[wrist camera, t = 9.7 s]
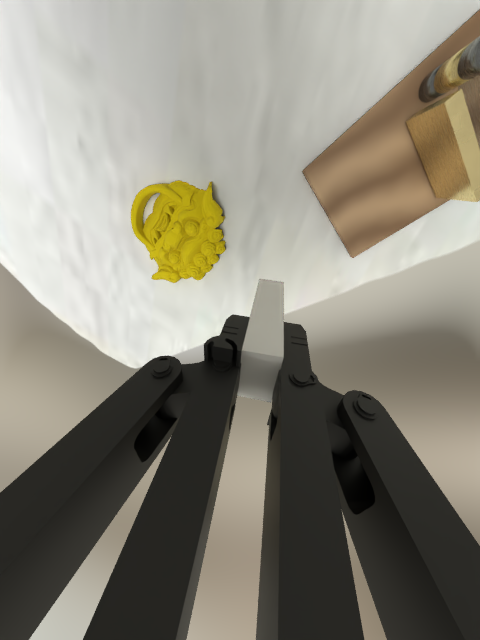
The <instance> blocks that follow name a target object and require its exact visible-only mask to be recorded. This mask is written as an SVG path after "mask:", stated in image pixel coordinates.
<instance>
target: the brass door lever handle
mask: <svg viewBox="0 0 480 640" xmlns="http://www.w3.org/2000/svg"><path fill="white" fill-rule="evenodd" d="M469 44H470V43H469ZM469 44H468V45H469ZM468 45H467V46H468ZM467 46H465V47H464V48H463V49H461V50H460V51H459V52H457V53H456V54H455V55H453V56H452V57H451V58H449V59H448V60H447V61H445V62H444V63H443V64H442V66H441V67H440V68H439V70H438V72H437V74H436V76H435V79H434V89H435V90H436V92H438V93H441V94H442V93H447V92H449V91H451V90H452V89H454V88H456V87H458V86H460V85H462V84H463V83H465V82H467V81H469V80H471V79H469V80H463V79H461V78H460V77H459V75H458V72H457V67H458V63H459V60H460V57H461V55H462V53H463V52H464V50H465V49H466V48H467ZM472 79H473V78H472ZM406 123H407V126H408V128H409V131H410V133H411V136H412V138H413V141H414V143H415V146H416V148H417V151H418V153H419V156H420V158H421V161H422V163H423V166H424V168H425V171H426V174H427V176H428V179H429V181H430V184H431V186H432V189H433V191H434V194H435V196H436V198H443V199H452V200H462V201H471V202H478V201H479V200H480V149H479V145H478V142H477V138H476V135H475V132H474V128H473V125H472V121H471V118H470V115H469V111H468V108H467V104H466V101H465V97H464V94H463V91H462V89H460V90H458V91H456V92H454V93H452V94H450V95H448V96H446V97H445V98H443V99H441V100H439V101H437V102H435V103H433V104H431V105H429V106H427V107H425V108H424V109H422V110H420V111H418V112H417V113H416V114H414V115H413V116H412V117H411V118H410V119H408V120H407V121H406Z"/></svg>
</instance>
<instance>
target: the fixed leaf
mask: <svg viewBox="0 0 480 640" xmlns="http://www.w3.org/2000/svg"><path fill="white" fill-rule="evenodd" d="M441 66H442V64H441V65H440V66H438V67H437V68H436V69H434V70H433V71H432V72H430V73H429V74H428V75H427V76H426V77H425V78H424V80H423V81H422V83H421V85H420V87H419V91H418V96H419V99H420V100H421V101H422V102H425V103H427V102H430V101H432V100H434V99H436V98H438V97H440V96H441V95H443V94H445V93H442V94H441V93H438V92H436V90H435V89H434V79H435V76H436V74H437V72H438V70H439V68H440V67H441ZM457 72H458V75H459V77H460V78H461V79H463V80H469V79H471V80H469V81H467V82H465V83H463V84H462V85H460V86H458V90H460V89H462V91H463V94H464V97H465V101H466V104H467V108H468V111H469V115H470V118H471V121H472V125H473V128H474V132H475V135H476V138H477V142H478V145H479V149H480V36H479V37H477V38H476V39H475V40H474V41H472V42H471V43H470V44H469V45H468V46H467V48H466V49H465V50H464V52H463V53H462V55H461V57H460V60H459V63H458V67H457ZM472 78H473V79H472Z"/></svg>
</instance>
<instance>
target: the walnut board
mask: <svg viewBox="0 0 480 640" xmlns="http://www.w3.org/2000/svg"><path fill="white" fill-rule="evenodd" d="M479 36H480V10H479V11H478V12H476V13H475V14H474V15H473V16H472V17H471V18H470V19H469V20H468V21H467V22H465V23H464V24H463V25H462V26H461V27H460V28H459V29H458V30H457V31H456V32H454V33H453V34H452V35H451V36H450V37H449V38H448V39H447V40H446V41H445V42H443V43H442V44H441V45H440V46H439V47H438V48H437V49H436V50H435V51H434V52H432V53H431V54H430V55H429V56H428V57H427V58H426V59H425V60H424V61H423V62H422V63H420V64H419V65H418V66H417V67H416V68H415V69H414V70H413V71H412V72H411V73H409V74H408V75H407V76H406V77H405V78H404V79H403V80H402V81H401V82H400V83H398V84H397V85H396V86H395V87H394V88H393V89H392V90H391V91H390V92H389V93H387V94H386V95H385V96H384V97H383V98H382V99H381V100H380V101H379V102H378V103H376V104H375V105H374V106H373V107H372V108H371V109H370V110H369V111H368V112H367V113H366V114H364V115H363V116H362V117H361V118H360V119H359V120H358V121H357V122H356V123H355V124H353V125H352V126H351V127H350V128H349V129H348V130H347V131H346V132H345V133H344V134H342V135H341V136H340V137H339V138H338V139H337V140H336V141H335V142H334V143H333V144H331V145H330V146H329V147H328V148H327V149H326V150H325V151H324V152H323V153H322V154H320V155H319V156H318V157H317V158H316V159H315V160H314V161H313V162H312V163H311V164H310V165H308V166H307V167H306V168H305V169H304V170H303V171H302V172H303V174H304V176H305V177H306V179H307V181H308V183H309V184H310V186H311V188H312V190H313V191H314V193H315V195H316V197H317V198H318V200H319V202H320V204H321V205H322V207H323V209H324V211H325V212H326V214H327V216H328V218H329V219H330V221H331V223H332V225H333V226H334V228H335V230H336V232H337V233H338V235H339V237H340V239H341V240H342V242H343V244H344V245H345V247H346V249H347V251H348V252H349V254H350V256H351V257H352V258H354V257H355V256H357V255H359V254H360V253H362V252H364V251H365V250H367V249H369V248H370V247H372V246H374V245H375V244H377V243H379V242H380V241H382V240H384V239H385V238H387V237H389V236H390V235H392V234H394V233H395V232H397V231H399V230H400V229H402V228H404V227H405V226H407V225H409V224H410V223H412V222H414V221H415V220H417V219H419V218H420V217H422V216H424V215H425V214H427V213H429V212H430V211H432V210H434V209H435V208H437V207H439V206H440V205H442V204H444V203H445V202H447V201H449V200H450V199H443V198H436V196H435V194H434V191H433V189H432V186H431V184H430V181H429V179H428V176H427V174H426V171H425V168H424V166H423V163H422V161H421V158H420V156H419V153H418V151H417V148H416V146H415V143H414V141H413V138H412V136H411V133H410V131H409V128H408V126H407V123H406V121H407V120H408V119H410V118H411V117H412V116H413V115H414V114H416V113H417V112H418V111H420V110H422V109H424V108H425V107H427V106H429V105H431V104H433V103H435V102H437V101H439V100H441V99H443V98H445V97H446V96H448V95H450V94H452V93H454V92H456V91H458V87H456V88H454V89H452V90H451V91H449V92H447V93H445V94H443V95H441V96H440V97H438V98H436V99H434V100H432V101H430V102H427V103H425V102H422V101H421V100H420V99H419V96H418V91H419V87H420V85H421V83H422V81H423V80H424V78H425V77H426V76H427V75H428V74H429V73H430V72H432V71H433V70H434V69H436V68H437V67H438V66H440V65H441V64H443V63H444V62H445V61H447V60H448V59H449V58H451V57H452V56H453V55H455V54H456V53H457V52H459V51H460V50H461V49H463V48H464V47H465V46H467V45H468V44H469V43H471V42H472V41H474V40H475V39H476V38H477V37H479Z"/></svg>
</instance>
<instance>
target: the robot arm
mask: <svg viewBox="0 0 480 640" xmlns="http://www.w3.org/2000/svg"><path fill="white" fill-rule="evenodd" d="M283 320H284V282H279V281H272V280H265V279H259V283H258V287H257V291H256V295H255V299H254V303H253V307H252V311H251V315H250V317H245V316H239V315H231V316H230V317H229V318H228V319H226V322H225V324H224V327H223V329H222V332H221V334H220V336H216V337H212V338H210V339H209V340H207V341H206V343H205V344H204V358H205V359H204V361H202V362H199V363H194V364H182V365H181V363H180V361H179V360H178V359H176V358H175V357H172V356H160V357H157V358H154V359H152V360H151V361H149V362H148V363H147V364H145V365H144V366H143V367H142V368H141V369H140V370H139V371H138V372H136V373H135V374H134V375H133V376H132V377H131V378H130V379H129V380H127V381H126V382H125V383H124V384H123V385H122V386H121V387H119V388H118V389H117V390H116V391H115V392H114V393H113V394H112V395H110V396H109V397H108V398H107V399H106V400H105V401H104V402H102V403H101V404H100V405H99V406H98V407H97V408H96V409H95V410H93V411H92V412H91V413H90V414H89V415H88V416H87V417H86V418H84V419H83V420H82V421H81V422H80V423H79V424H78V425H77V426H75V427H74V428H73V429H72V430H71V431H70V432H69V433H68V434H66V435H65V436H64V437H63V438H62V439H61V440H60V441H58V442H57V443H56V444H55V445H54V446H53V447H52V448H51V449H49V450H48V451H47V452H46V453H45V454H44V455H43V456H42V457H40V458H39V459H38V460H37V461H36V462H35V463H34V464H32V465H31V466H30V467H29V468H28V469H27V470H26V471H25V472H23V473H22V474H21V475H20V476H19V477H18V478H17V479H16V480H14V481H13V482H12V483H11V484H10V485H9V486H8V487H6V488H5V489H4V490H3V491H2V492H1V493H0V640H29V638H30V637H31V636H32V634H33V633H34V631H35V630H36V628H37V627H38V626H39V624H40V623H41V621H42V620H43V618H44V617H45V616H46V614H47V613H48V611H49V610H50V608H51V607H52V606H53V604H54V603H55V601H56V600H57V598H58V597H59V596H60V594H61V593H62V591H63V590H64V588H65V587H66V586H67V584H68V583H69V581H70V580H71V579H72V577H73V576H74V574H75V573H76V571H77V570H78V569H79V567H80V566H81V564H82V563H83V561H84V560H85V559H86V557H87V556H88V554H89V553H90V551H91V550H92V549H93V547H94V546H95V544H96V543H97V541H98V540H99V539H100V537H101V536H102V534H103V533H104V531H105V530H106V529H107V527H108V526H109V524H110V523H111V521H112V520H113V519H114V517H115V515H116V514H117V513H118V511H119V510H120V509H121V507H122V506H123V504H124V503H125V501H126V500H127V498H128V497H129V496H130V494H131V493H132V491H133V490H134V489H135V487H136V486H137V484H138V483H139V481H140V480H141V478H142V477H143V476H144V474H145V473H146V471H147V470H148V469H149V467H150V466H151V464H152V463H153V461H154V460H155V459H156V457H157V456H158V454H159V453H160V451H161V450H162V449H163V447H164V446H165V444H166V443H167V441H168V440H169V439H170V437H171V436H172V437H171V439H170V442H169V444H168V446H167V448H166V451H165V453H164V455H163V457H162V460H161V462H160V464H159V467H158V469H157V471H156V474H155V476H154V478H153V481H152V483H151V485H150V487H149V489H148V492H147V494H146V497H145V499H144V501H143V503H142V505H141V508H140V510H139V512H138V515H137V517H136V519H135V521H134V524H133V526H132V529H131V531H130V533H129V535H128V537H127V540H126V542H125V545H124V547H123V549H122V551H121V554H120V556H119V558H118V560H117V563H116V565H115V568H114V570H113V572H112V574H111V576H110V579H109V581H108V583H107V586H106V588H105V590H104V592H103V595H102V597H101V599H100V602H99V604H98V606H97V608H96V611H95V613H94V616H93V618H92V620H91V622H90V625H89V627H88V629H87V631H86V634H85V636H84V638H83V640H186V638H187V634H188V628H189V624H190V619H191V615H192V609H193V605H194V600H195V596H196V591H197V586H198V581H199V576H200V572H201V567H202V562H203V558H204V553H205V548H206V543H207V539H208V534H209V529H210V524H211V520H212V515H213V510H214V506H215V501H216V496H217V491H218V487H219V481H220V477H221V472H222V467H223V462H224V458H225V453H226V449H227V444H228V439H229V434H230V429H231V425H232V420H233V415H234V410H235V403H236V398H237V396H242V397H247V398H252V399H257V400H261V401H267V402H271V401H272V409H271V413H270V416H269V419H268V423H267V425H269V436H268V453H267V468H266V484H265V501H264V518H263V534H262V550H261V566H260V582H259V599H258V614H257V631H256V640H364V636H363V630H362V625H361V619H360V613H359V607H358V602H357V596H356V590H355V584H354V578H353V573H352V567H351V561H350V555H349V550H348V544H347V538H346V533H345V527H344V521H343V516H342V512H343V515H344V518H345V521H346V523H347V526H348V529H349V532H350V535H351V538H352V541H353V543H354V546H355V549H356V552H357V555H358V558H359V560H360V563H361V566H362V569H363V572H364V574H365V578H366V581H367V583H368V586H369V589H370V592H371V595H372V598H373V601H374V603H375V606H376V609H377V612H378V615H379V618H380V621H381V623H382V626H383V629H384V632H385V635H386V638H387V640H480V546H479V544H478V543H477V541H476V540H475V539H474V537H473V536H472V534H471V533H470V531H469V530H468V528H467V527H466V526H465V524H464V523H463V521H462V520H461V518H460V517H459V515H458V514H457V513H456V511H455V510H454V508H453V507H452V505H451V504H450V502H449V501H448V500H447V498H446V497H445V495H444V494H443V492H442V491H441V490H440V488H439V486H438V485H437V483H436V482H435V481H434V479H433V478H432V476H431V475H430V473H429V472H428V470H427V469H426V467H425V466H424V465H423V463H422V462H421V460H420V459H419V457H418V456H417V454H416V453H415V452H414V450H413V449H412V447H411V446H410V444H409V443H408V441H407V440H406V439H405V437H404V436H403V434H402V433H401V431H400V430H399V428H398V427H397V426H396V424H395V423H394V421H393V420H392V418H391V417H390V415H389V414H388V412H387V411H386V409H385V408H384V407H383V406H382V405H381V403H380V402H379V401H378V400H376V399H375V398H374V397H372V396H371V395H369V394H366V393H364V392H362V391H356V390H353V391H349V392H347V393H346V394H345V395H342V394H340V393H338V392H335V391H333V390H331V389H329V388H327V387H325V386H324V385H322V384H321V383H320V382H319V381H318V378H317V376H316V375H315V374H314V373H313V372H312V369H311V363H310V356H309V349H308V343H307V336H306V331H305V330H304V329H303V327H302V326H301V325H299V324H292V323H286V322H284V321H283ZM341 509H342V510H341Z"/></svg>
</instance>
